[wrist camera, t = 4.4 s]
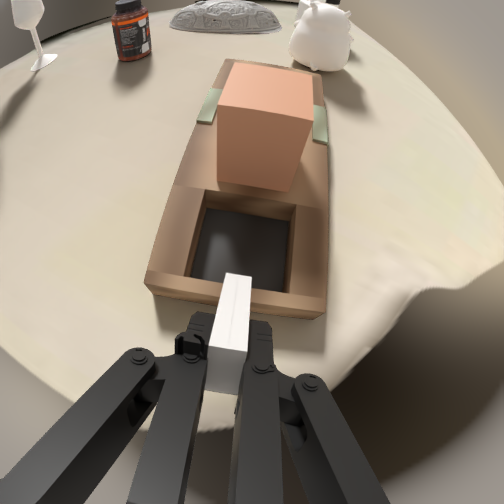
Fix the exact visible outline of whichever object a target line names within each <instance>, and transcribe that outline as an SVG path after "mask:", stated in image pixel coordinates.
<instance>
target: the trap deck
mask: <svg viewBox="0 0 504 504" xmlns="http://www.w3.org/2000/svg"><path fill="white" fill-rule="evenodd" d="M234 62H237V63H246V64H253V65H260V66H267V67H273V68H278V69H284V70H289V71H294V72H299V73H304V74H308V75H312V84H313V111H314V122H313V124H312V127H311V130H310V133H309V136H308V139H307V142H306V144H305V147H304V150H303V153H302V156H301V159H300V161H299V164H298V167H297V170H296V173H295V176H294V178H293V181H292V184H291V187H290V190H289V192H288V193H287V192H282V191H276V190H271V189H265V188H259V187H253V186H247V185H241V184H235V183H228V182H221V181H217V104H218V101H219V99H220V96H221V94H222V91H223V89H224V86H225V84H226V81H227V79H228V77H229V74H230V72H231V69H232V67H233V65H234ZM328 145H329V143H328V127H327V114H326V110H325V107H324V97H323V86H322V76H321V75H320V74H316V73H312V72H307V71H303V70H298V69H294V68H288V67H283V66H278V65H272V64H266V63H259V62H252V61H244V60H236V59H225V61H224V63H223V65H222V67H221V69H220V71H219V73H218V75H217V77H216V80H215V82H214V84H213V86H212V88H210V91H209V93H208V95H207V97H206V99H205V102H204V104H203V106H202V109H201V111H200V113H199V115H198V118H197V123H196V125H195V128H194V130H193V132H192V135H191V137H190V140H189V143H188V145H187V148H186V150H185V153H184V155H183V158H182V161H181V164H180V166H179V169H178V172H177V174H176V177H175V180H174V183H173V186H172V189H171V192H170V195H169V198H168V201H167V204H166V207H165V210H164V213H163V216H162V219H161V222H160V226H159V229H158V232H157V235H156V239H155V242H154V246H153V249H152V253H151V256H150V260H149V264H148V267H147V271H146V275H145V279H144V284H145V285H146V286H147V288H148V289H149V290H150V291H151V292H152V294H156V295H160V296H165V297H170V298H176V299H181V300H186V301H192V302H197V303H203V304H208V305H214V306H218V304H219V300H220V295H221V291H222V287H223V283H224V279H225V275H226V273H231V274H237V275H243V276H249V277H252V280H251V298H250V311H251V312H258V313H265V314H272V315H279V316H287V317H294V318H302V319H311V320H313V319H315V318H317V317H318V316H320V315H322V314H323V313H325V311H326V294H327V271H328V224H329V208H328V162H327V147H328ZM205 212H206V213H205ZM204 216H205V217H204ZM203 220H204V221H203ZM202 224H203V225H202ZM288 225H289V227H288ZM201 228H202V229H201ZM287 236H288V238H287ZM199 237H200V238H199ZM198 241H199V242H198ZM197 245H198V246H197ZM286 247H287V249H286ZM196 250H197V251H196ZM195 254H196V255H195ZM194 258H195V259H194ZM285 258H286V260H285ZM193 263H194V264H193ZM192 267H193V268H192ZM284 269H285V270H284ZM191 272H192V273H191ZM190 277H191V278H190ZM283 279H284V281H283ZM282 288H283V290H282Z"/></svg>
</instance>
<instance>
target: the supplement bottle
mask: <svg viewBox="0 0 504 504" xmlns="http://www.w3.org/2000/svg"><path fill="white" fill-rule="evenodd" d="M115 5H116V10H117V12H116V13H115V14H114V15H113V16H112V27H113V33H114V39H115V44H116V49H117V54H118V58H119V59H120V60H122V61H133V60H137V59H140V58H143V57H145V56H146V55H148V54H149V53H150V52H151V38H150V29H149V17H148V10H147V8H146V7H143V6H142V5H141V0H120V1H118V2H116V3H115Z"/></svg>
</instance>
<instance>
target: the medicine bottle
mask: <svg viewBox="0 0 504 504" xmlns="http://www.w3.org/2000/svg"><path fill="white" fill-rule="evenodd" d="M314 1H319V2H321V3H324V4H327V5H332V6H335V7H337V8H338V7H339V4H340V0H310V1H306V0H300V1H299V6H298V11H297V15H296V20H295V22H296V21H298V20H301V18H302V16H303V14H304V11H305V10H307V9H308V8H311V7H310V3H311V2H314Z"/></svg>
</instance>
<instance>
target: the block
mask: <svg viewBox="0 0 504 504" xmlns="http://www.w3.org/2000/svg"><path fill="white" fill-rule="evenodd" d="M313 122H314V111H313V84H312V75H308V74H304V73H299V72H294V71H289V70H284V69H278V68H273V67H267V66H260V65H253V64H246V63H237V62H234V65H233V67H232V69H231V72H230V74H229V77H228V79H227V81H226V84H225V86H224V89H223V91H222V94H221V96H220V99H219V101H218V104H217V181H221V182H228V183H235V184H241V185H247V186H253V187H259V188H265V189H271V190H276V191H282V192H287V193H288V192H289V190H290V187H291V184H292V181H293V178H294V176H295V173H296V170H297V167H298V164H299V161H300V159H301V156H302V153H303V150H304V147H305V144H306V142H307V139H308V136H309V133H310V130H311V127H312V124H313Z"/></svg>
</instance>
